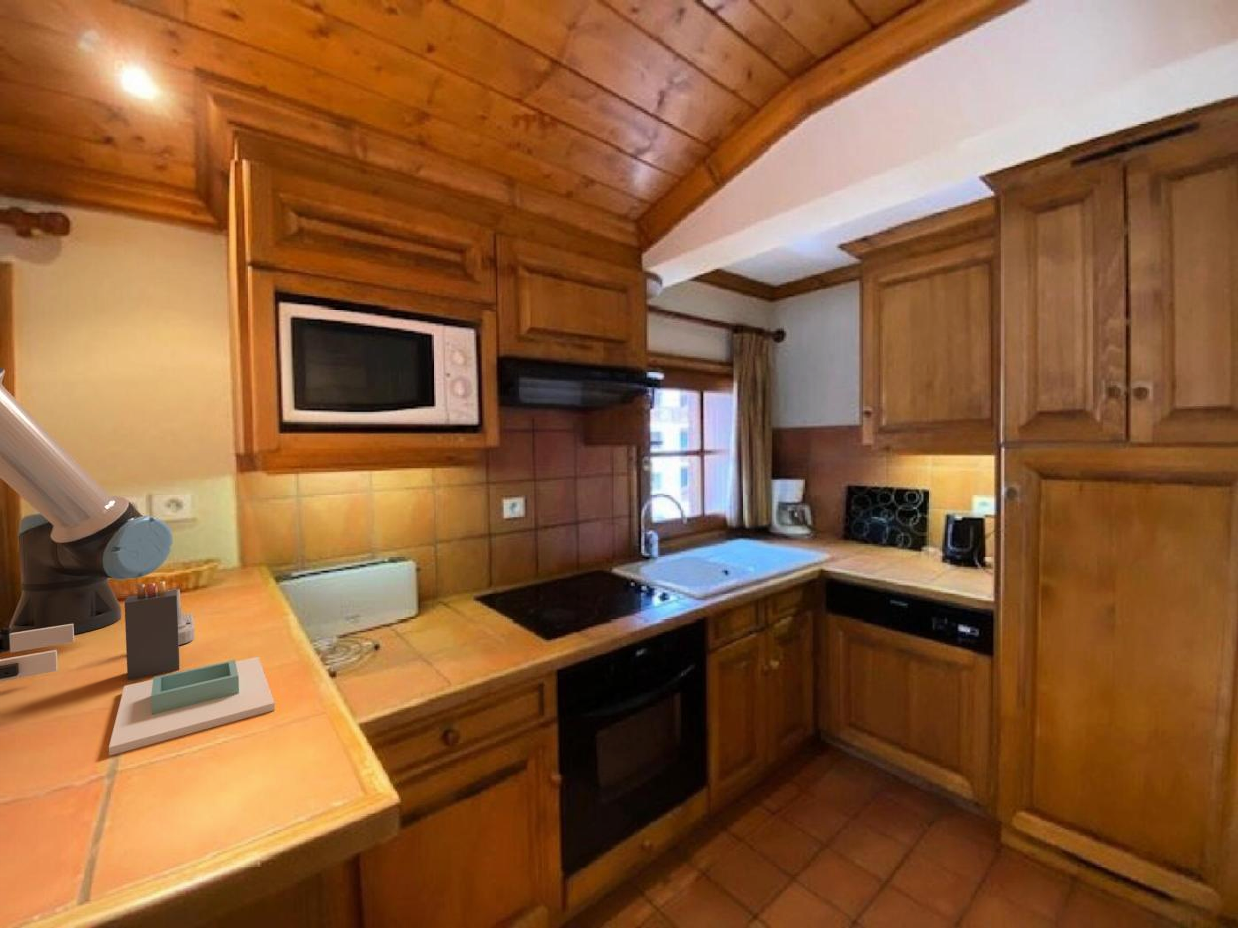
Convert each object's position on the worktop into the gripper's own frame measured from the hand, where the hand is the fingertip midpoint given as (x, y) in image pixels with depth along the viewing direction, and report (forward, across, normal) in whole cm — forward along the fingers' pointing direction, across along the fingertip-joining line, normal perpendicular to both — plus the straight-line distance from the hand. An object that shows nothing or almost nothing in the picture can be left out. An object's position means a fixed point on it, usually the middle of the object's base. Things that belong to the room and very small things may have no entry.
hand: (66, 645), depth 76 cm
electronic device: (+12, -18, -7) cm, 23 cm away
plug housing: (+10, 0, -6) cm, 12 cm away
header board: (+14, +17, -6) cm, 23 cm away
